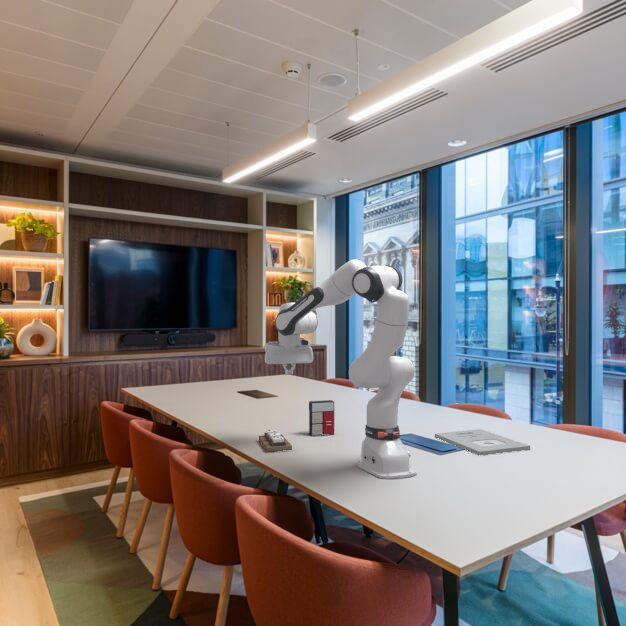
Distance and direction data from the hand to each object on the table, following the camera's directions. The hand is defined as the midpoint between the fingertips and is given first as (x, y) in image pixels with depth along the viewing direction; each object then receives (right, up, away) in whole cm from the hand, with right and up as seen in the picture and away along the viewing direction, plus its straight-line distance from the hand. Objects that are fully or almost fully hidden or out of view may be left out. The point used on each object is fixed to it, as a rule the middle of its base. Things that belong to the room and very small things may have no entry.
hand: (289, 374), depth 206 cm
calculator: (+14, -29, +17) cm, 36 cm away
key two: (-7, -26, +4) cm, 27 cm away
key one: (-6, -26, -2) cm, 27 cm away
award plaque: (+80, -30, +2) cm, 86 cm away
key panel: (-6, -29, -2) cm, 30 cm away
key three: (-4, -26, -7) cm, 27 cm away
